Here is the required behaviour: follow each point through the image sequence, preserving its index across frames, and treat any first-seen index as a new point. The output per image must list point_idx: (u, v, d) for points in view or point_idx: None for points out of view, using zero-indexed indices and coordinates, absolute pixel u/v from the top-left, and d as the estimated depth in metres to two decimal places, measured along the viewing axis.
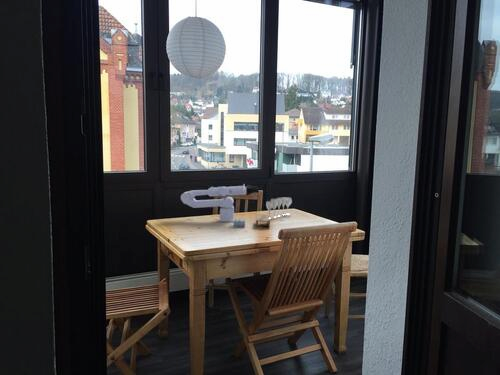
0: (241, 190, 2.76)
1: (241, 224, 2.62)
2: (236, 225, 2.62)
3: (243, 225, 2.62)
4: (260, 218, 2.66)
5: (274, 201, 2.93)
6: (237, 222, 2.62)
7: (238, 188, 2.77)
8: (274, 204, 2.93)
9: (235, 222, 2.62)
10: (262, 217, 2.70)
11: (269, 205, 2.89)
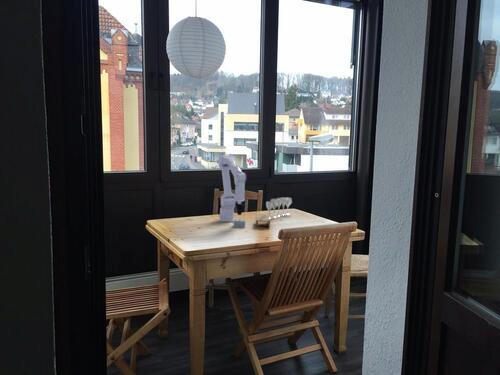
0: None
1: (241, 224, 2.62)
2: (236, 225, 2.62)
3: (243, 225, 2.62)
4: (260, 218, 2.66)
5: (274, 201, 2.93)
6: (237, 222, 2.62)
7: None
8: (274, 204, 2.93)
9: (235, 222, 2.62)
10: (262, 217, 2.70)
11: (269, 205, 2.89)
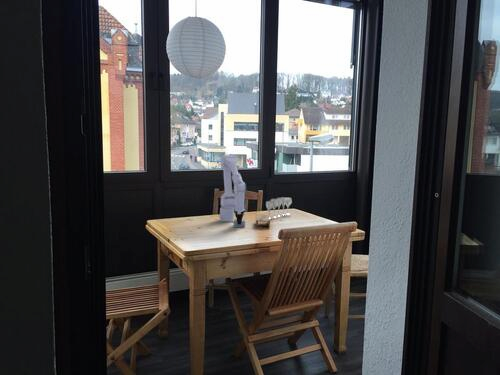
0: None
1: (241, 224, 2.62)
2: (236, 225, 2.62)
3: (243, 225, 2.62)
4: (260, 218, 2.66)
5: (274, 201, 2.93)
6: None
7: None
8: (274, 204, 2.93)
9: (235, 222, 2.62)
10: (262, 217, 2.70)
11: (269, 205, 2.89)
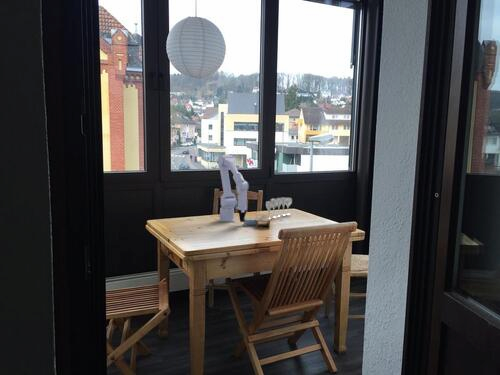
0: None
1: (253, 223, 2.67)
2: (248, 224, 2.66)
3: (255, 224, 2.67)
4: (260, 218, 2.66)
5: (274, 201, 2.93)
6: (249, 221, 2.66)
7: None
8: (274, 204, 2.93)
9: (247, 221, 2.65)
10: (262, 217, 2.70)
11: (269, 205, 2.89)
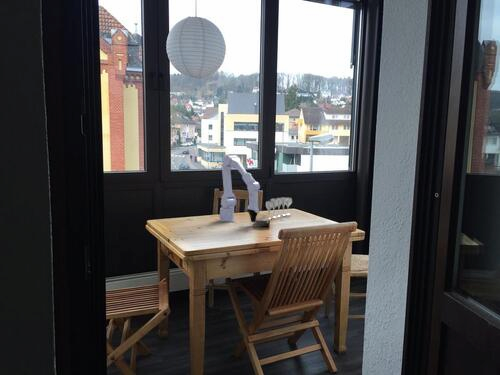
0: None
1: (263, 223, 2.67)
2: (259, 224, 2.67)
3: (265, 224, 2.68)
4: (260, 218, 2.66)
5: (274, 201, 2.93)
6: (260, 221, 2.66)
7: None
8: (274, 204, 2.93)
9: (258, 221, 2.66)
10: (262, 217, 2.70)
11: (269, 205, 2.89)
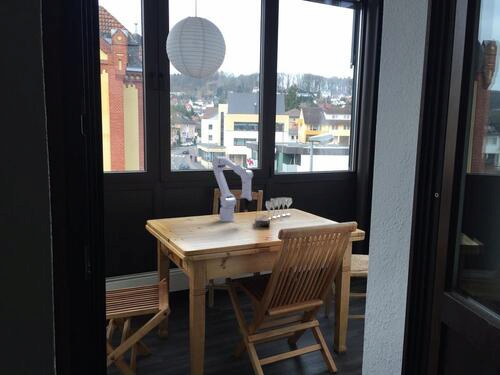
0: None
1: (264, 223, 2.67)
2: (259, 224, 2.67)
3: (266, 224, 2.68)
4: (260, 218, 2.66)
5: (274, 201, 2.93)
6: (260, 221, 2.67)
7: None
8: (274, 204, 2.93)
9: (258, 221, 2.66)
10: (262, 217, 2.70)
11: (268, 205, 2.89)
